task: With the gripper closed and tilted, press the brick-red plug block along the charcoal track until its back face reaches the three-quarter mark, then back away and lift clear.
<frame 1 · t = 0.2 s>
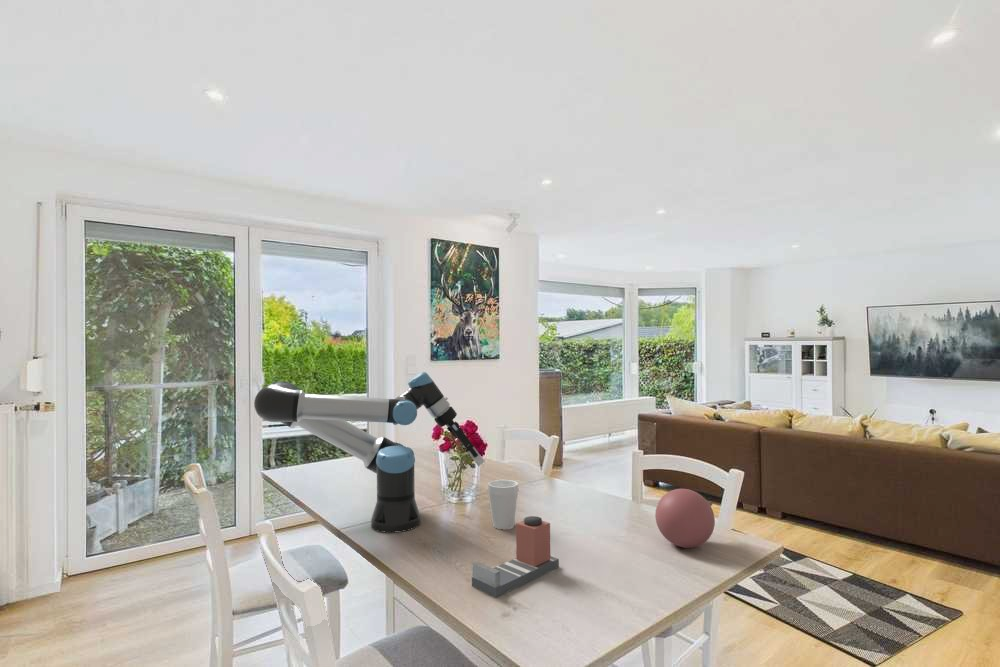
hand: (477, 460, 184), 16 cm above the table, tool tilted 35°, fingers open, 13 cm apart
track: (517, 576, 126), on the table
balloon: (690, 544, 145), on the table
foam cup: (503, 526, 161), on the table
plug: (533, 539, 130), point 7 cm above the table, slide at 0.0 cm
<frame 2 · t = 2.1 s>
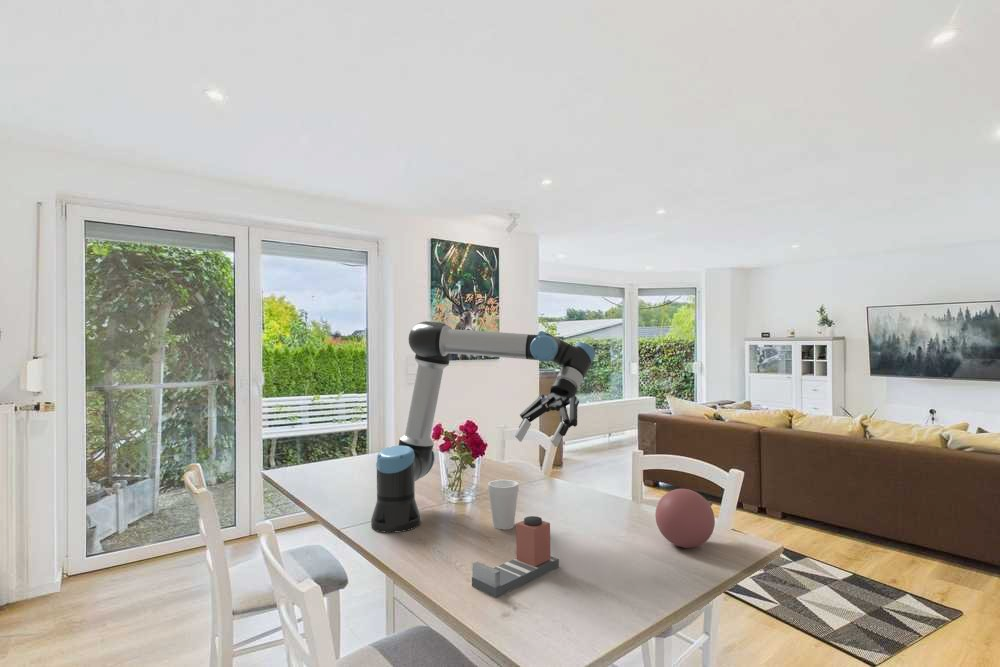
hand: (535, 441, 149), 28 cm above the table, tool tilted 45°, fingers open, 13 cm apart
nothing on the table moved.
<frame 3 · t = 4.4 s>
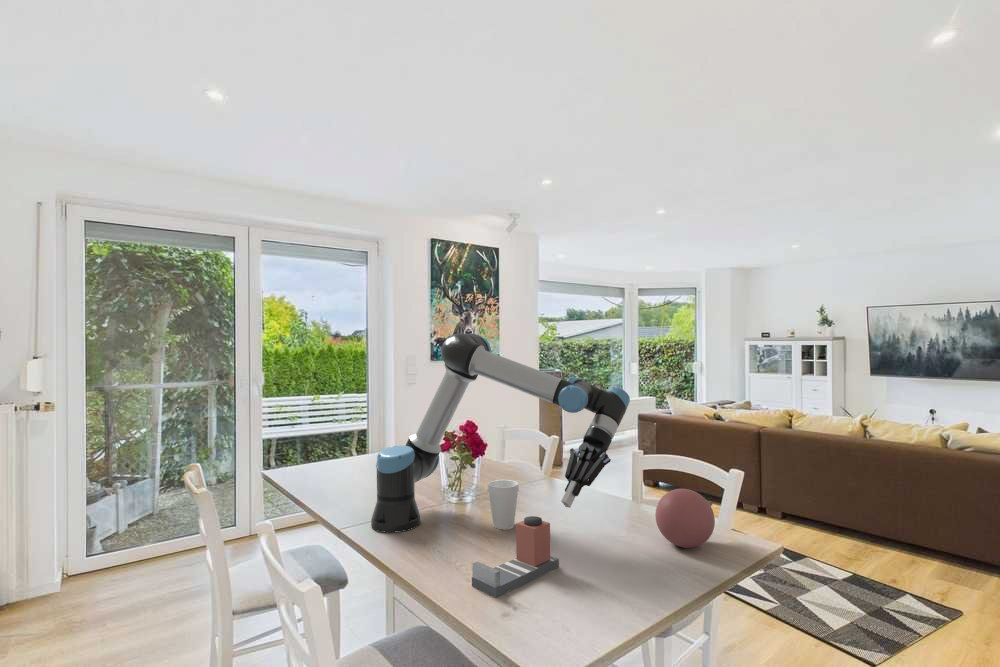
hand: (565, 504, 139), 13 cm above the table, tool tilted 45°, fingers closed
nothing on the table moved.
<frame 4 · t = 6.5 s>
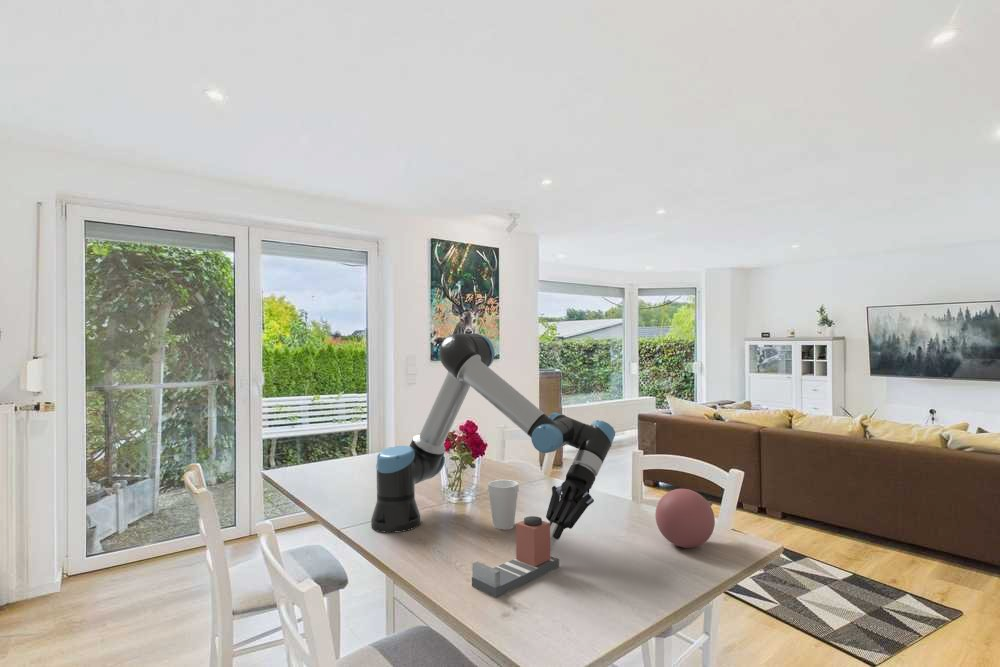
hand: (545, 548, 133), 4 cm above the table, tool tilted 45°, fingers closed
plug: (533, 539, 130), point 7 cm above the table, slide at 0.0 cm, touching gripper
everything else where it was.
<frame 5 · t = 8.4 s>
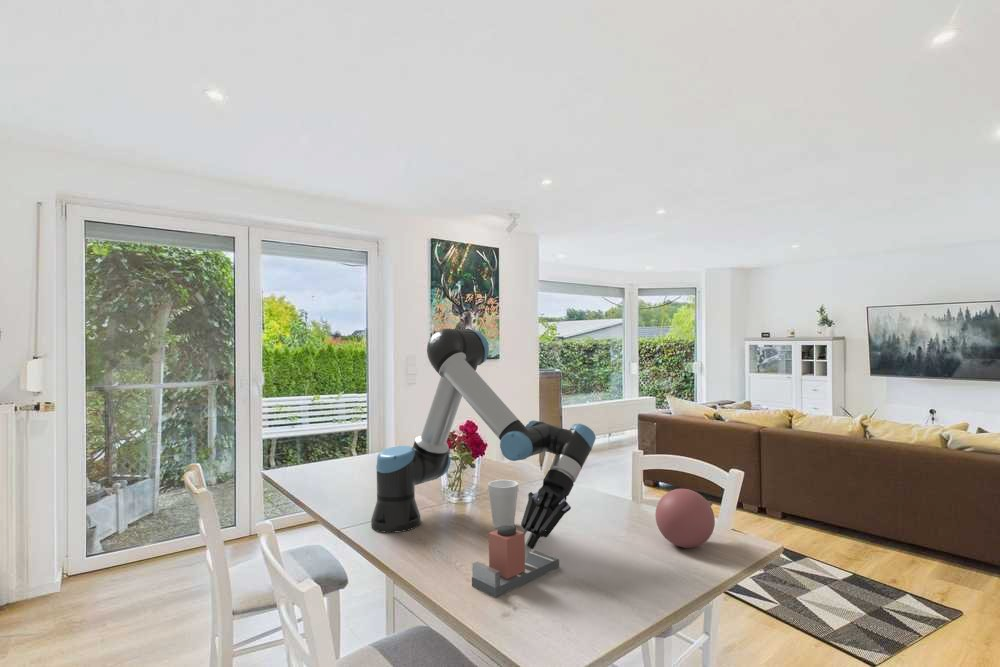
hand: (519, 558, 126), 4 cm above the table, tool tilted 45°, fingers closed
plug: (506, 549, 124), point 7 cm above the table, slide at 9.4 cm, touching gripper
everything else where it was.
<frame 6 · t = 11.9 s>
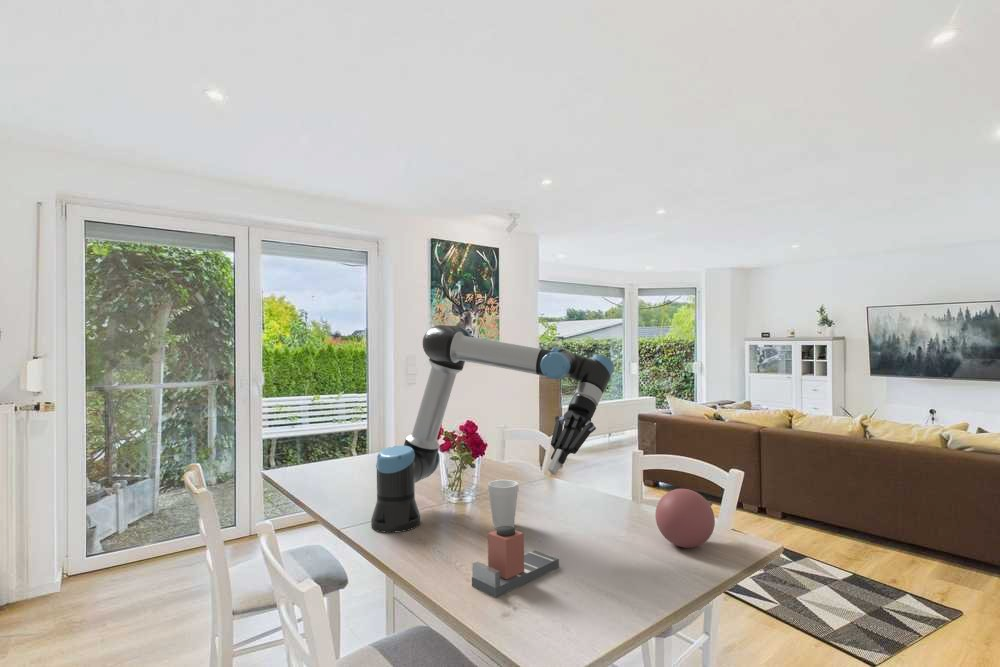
hand: (551, 472, 142), 21 cm above the table, tool tilted 40°, fingers closed
plug: (506, 550, 123), point 7 cm above the table, slide at 9.6 cm
everything else where it was.
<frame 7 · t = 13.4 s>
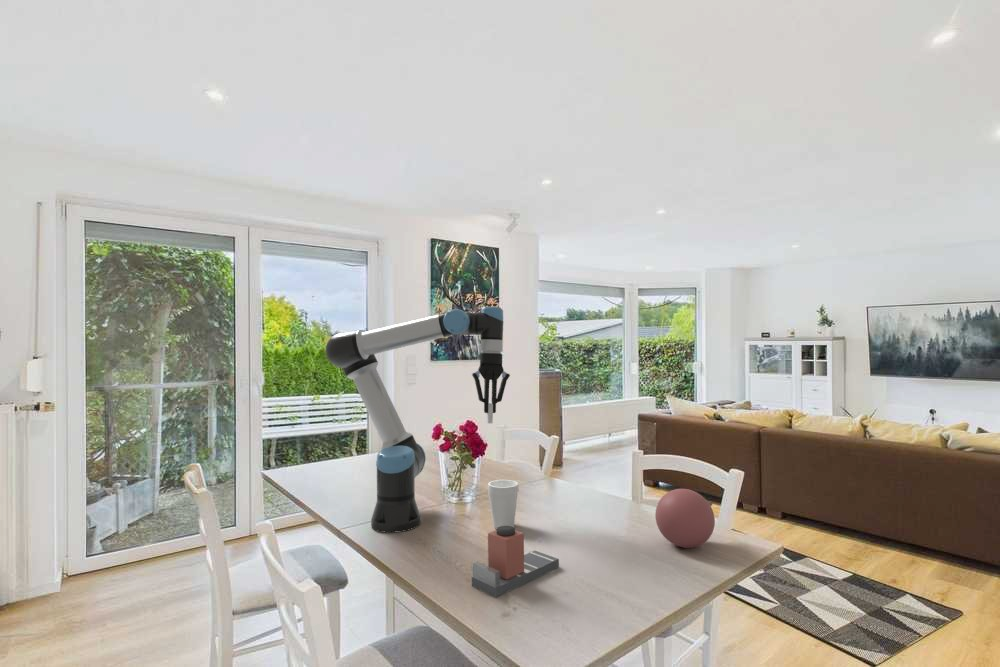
hand: (489, 422, 175), 30 cm above the table, tool pointing down, fingers closed
nothing on the table moved.
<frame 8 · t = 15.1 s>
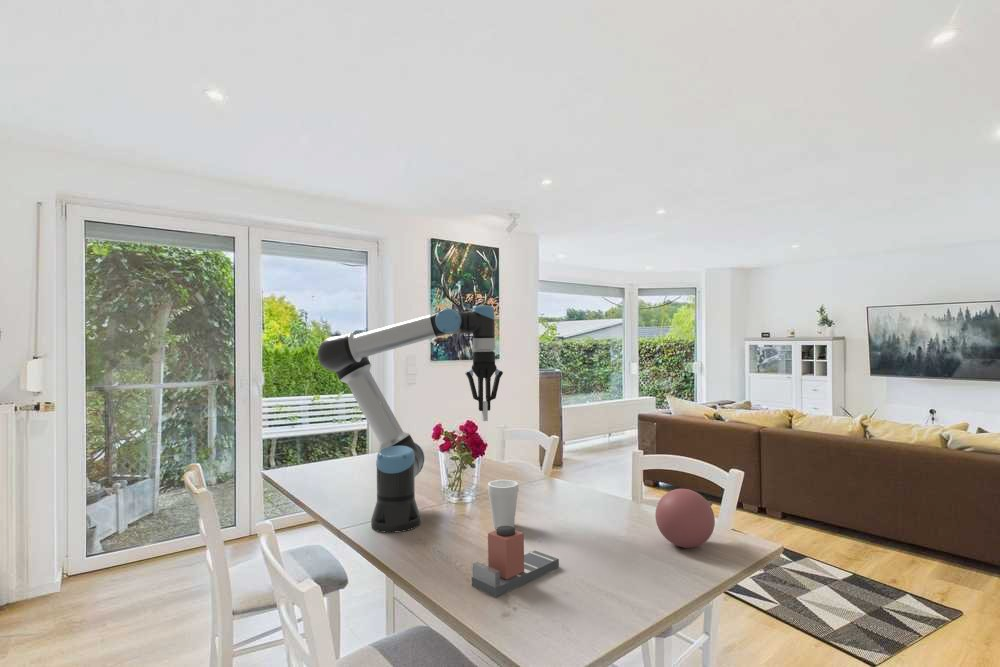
hand: (484, 420, 177), 30 cm above the table, tool pointing down, fingers closed
nothing on the table moved.
at the end: plug slide at 9.6 cm; foam cup moved 0.2 cm from its start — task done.
